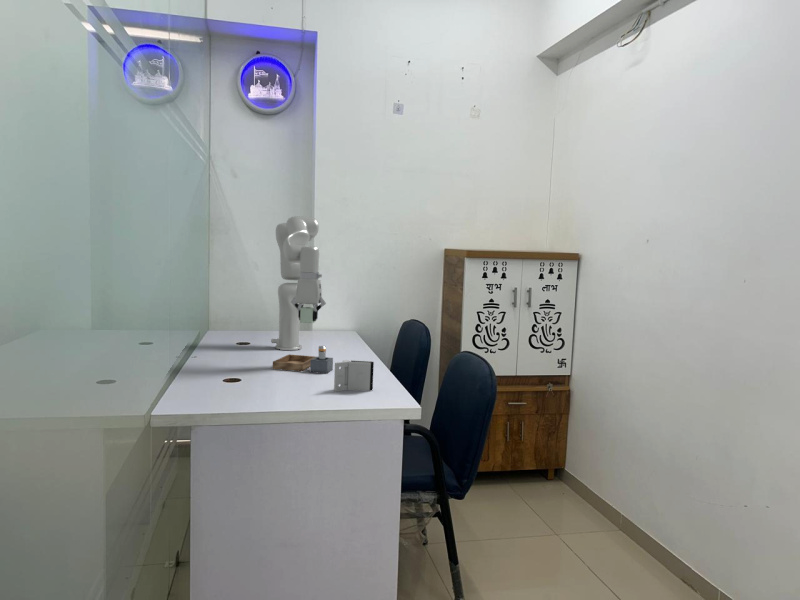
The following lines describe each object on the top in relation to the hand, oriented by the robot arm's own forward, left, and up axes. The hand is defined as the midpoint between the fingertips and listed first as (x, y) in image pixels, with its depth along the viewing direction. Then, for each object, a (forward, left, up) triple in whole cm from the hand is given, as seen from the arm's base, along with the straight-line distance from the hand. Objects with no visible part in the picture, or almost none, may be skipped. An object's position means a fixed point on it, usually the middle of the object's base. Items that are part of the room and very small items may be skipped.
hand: (307, 319), depth 234 cm
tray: (-4, -3, -19) cm, 20 cm away
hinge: (+29, -31, -20) cm, 47 cm away
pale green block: (0, 0, -1) cm, 1 cm away
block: (+9, -7, -19) cm, 22 cm away
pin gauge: (+9, -7, -19) cm, 22 cm away
